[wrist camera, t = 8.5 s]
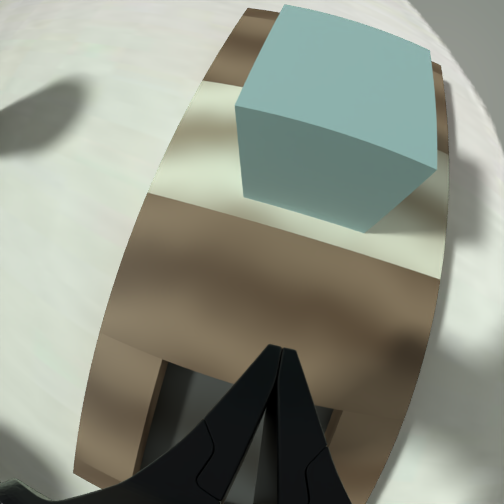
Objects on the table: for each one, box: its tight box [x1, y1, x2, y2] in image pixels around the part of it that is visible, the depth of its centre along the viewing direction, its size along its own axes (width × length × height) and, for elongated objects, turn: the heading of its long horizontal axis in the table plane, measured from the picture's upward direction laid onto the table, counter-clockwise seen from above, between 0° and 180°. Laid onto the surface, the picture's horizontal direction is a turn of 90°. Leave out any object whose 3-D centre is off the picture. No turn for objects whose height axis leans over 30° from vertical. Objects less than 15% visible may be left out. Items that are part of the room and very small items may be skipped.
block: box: [235, 5, 437, 233], centre depth 14 cm, size 7×7×8 cm
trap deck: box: [73, 8, 449, 504], centre depth 18 cm, size 38×18×2 cm, turn 163°
